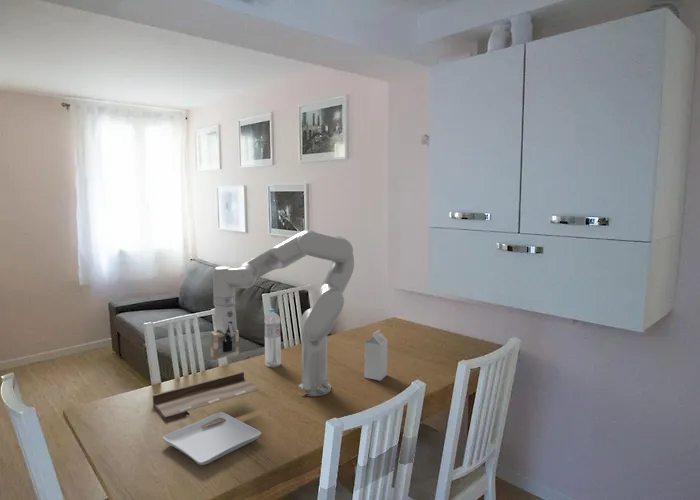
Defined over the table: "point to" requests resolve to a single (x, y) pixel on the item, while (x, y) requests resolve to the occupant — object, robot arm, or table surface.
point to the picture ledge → (200, 395)
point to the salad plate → (211, 438)
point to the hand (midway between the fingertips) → (224, 349)
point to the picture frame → (217, 345)
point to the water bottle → (272, 340)
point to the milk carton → (376, 357)
